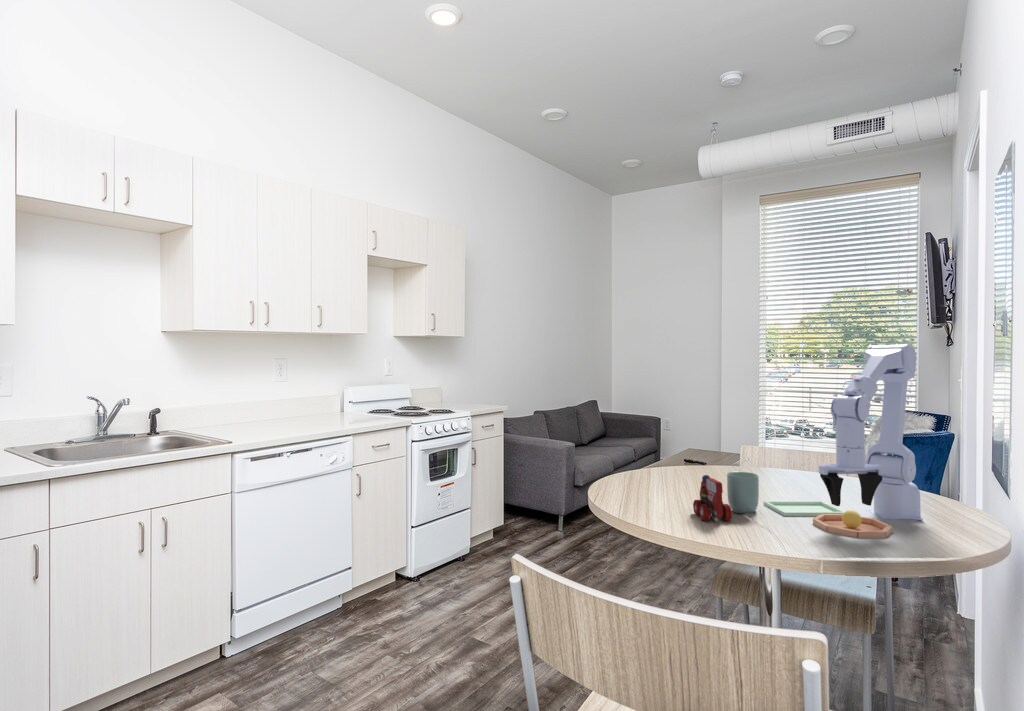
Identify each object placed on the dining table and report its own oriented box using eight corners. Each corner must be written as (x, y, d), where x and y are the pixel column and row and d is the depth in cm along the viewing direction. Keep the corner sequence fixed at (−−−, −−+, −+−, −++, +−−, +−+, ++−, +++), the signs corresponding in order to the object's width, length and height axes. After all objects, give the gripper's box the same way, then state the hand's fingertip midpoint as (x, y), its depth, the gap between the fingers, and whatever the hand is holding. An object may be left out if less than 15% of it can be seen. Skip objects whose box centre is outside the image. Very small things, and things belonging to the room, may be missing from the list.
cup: (762, 517, 141) (761, 477, 142) (730, 515, 143) (729, 476, 143) (755, 509, 149) (754, 472, 149) (724, 507, 151) (724, 471, 151)
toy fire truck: (716, 511, 147) (715, 472, 148) (734, 524, 135) (734, 481, 135) (690, 511, 147) (689, 472, 148) (706, 524, 135) (705, 481, 135)
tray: (822, 506, 152) (822, 501, 152) (848, 518, 140) (848, 512, 140) (763, 506, 152) (763, 501, 152) (784, 518, 140) (784, 512, 140)
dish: (864, 521, 137) (864, 514, 137) (906, 540, 122) (906, 532, 122) (803, 521, 137) (803, 513, 137) (837, 540, 122) (837, 531, 122)
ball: (855, 525, 132) (854, 508, 132) (865, 530, 128) (865, 512, 128) (838, 525, 132) (838, 508, 132) (848, 530, 128) (847, 512, 128)
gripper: (867, 444, 135) (868, 500, 134) (810, 444, 134) (811, 501, 133) (889, 448, 128) (890, 507, 127) (829, 448, 126) (830, 508, 126)
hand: (851, 504), depth 130 cm, fingers open, 7 cm apart
